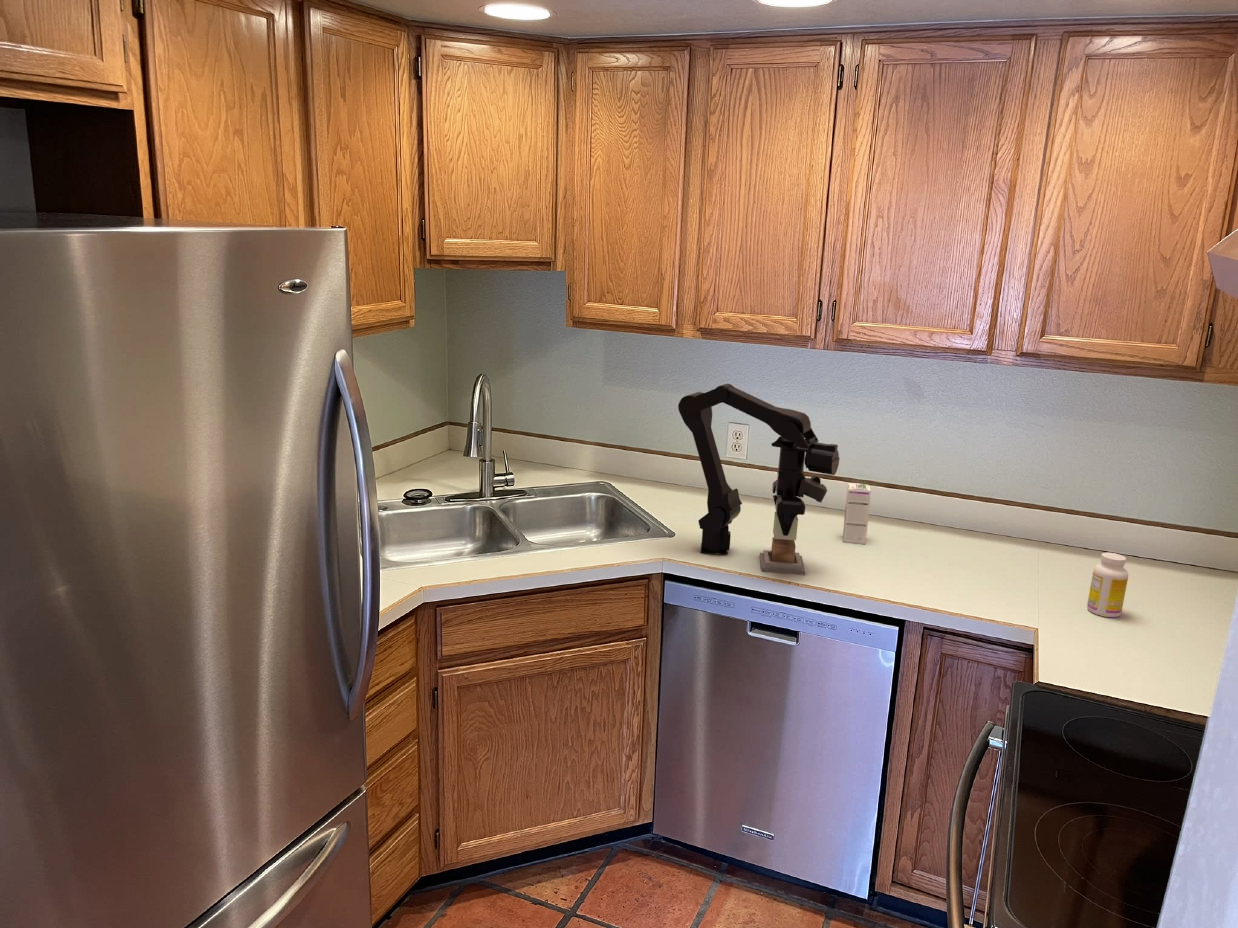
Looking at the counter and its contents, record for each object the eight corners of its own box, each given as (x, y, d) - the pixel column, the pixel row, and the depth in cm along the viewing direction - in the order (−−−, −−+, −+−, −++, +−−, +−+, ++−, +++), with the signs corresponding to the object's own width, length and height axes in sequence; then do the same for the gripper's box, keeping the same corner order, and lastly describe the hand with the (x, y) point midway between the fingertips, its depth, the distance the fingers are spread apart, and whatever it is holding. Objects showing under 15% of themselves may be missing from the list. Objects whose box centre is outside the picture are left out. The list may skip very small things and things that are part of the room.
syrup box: (865, 544, 233) (872, 490, 229) (842, 542, 234) (848, 487, 230) (864, 537, 238) (871, 484, 235) (841, 535, 240) (847, 481, 236)
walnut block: (771, 564, 213) (773, 544, 212) (770, 556, 218) (772, 537, 217) (793, 566, 213) (795, 545, 212) (791, 558, 218) (793, 538, 217)
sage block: (774, 538, 212) (776, 518, 211) (773, 531, 217) (774, 511, 215) (796, 540, 211) (798, 519, 210) (794, 533, 216) (796, 513, 215)
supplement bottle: (1124, 612, 198) (1135, 556, 194) (1116, 621, 193) (1127, 564, 190) (1091, 603, 202) (1101, 548, 199) (1082, 611, 197) (1092, 555, 194)
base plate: (761, 571, 212) (762, 563, 211) (759, 556, 221) (760, 548, 221) (805, 574, 211) (805, 566, 210) (801, 559, 220) (802, 551, 220)
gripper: (831, 481, 200) (824, 548, 204) (822, 459, 218) (815, 521, 222) (780, 477, 201) (773, 544, 205) (775, 456, 219) (769, 518, 223)
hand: (784, 531), depth 214 cm, fingers closed on sage block, 5 cm apart
